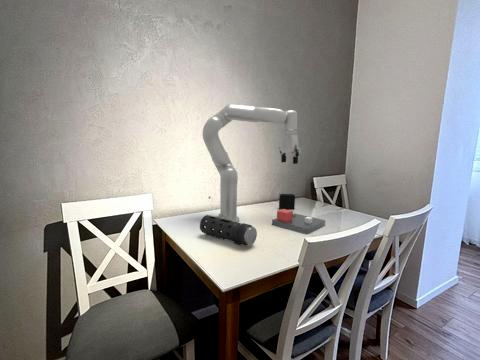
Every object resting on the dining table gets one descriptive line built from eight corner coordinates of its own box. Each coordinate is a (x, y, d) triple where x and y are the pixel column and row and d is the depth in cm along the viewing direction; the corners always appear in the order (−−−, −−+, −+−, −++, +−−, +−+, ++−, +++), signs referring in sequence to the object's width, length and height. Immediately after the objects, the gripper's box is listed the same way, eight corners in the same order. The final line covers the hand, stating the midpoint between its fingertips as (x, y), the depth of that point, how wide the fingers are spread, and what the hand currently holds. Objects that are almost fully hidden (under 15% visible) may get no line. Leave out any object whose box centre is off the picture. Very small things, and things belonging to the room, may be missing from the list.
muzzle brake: (212, 232, 150) (212, 212, 148) (257, 245, 134) (258, 223, 132) (199, 237, 143) (199, 216, 141) (245, 251, 126) (245, 228, 124)
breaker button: (309, 226, 156) (309, 218, 156) (304, 224, 158) (304, 217, 158) (312, 224, 159) (312, 217, 158) (307, 223, 161) (307, 216, 160)
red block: (286, 222, 158) (286, 213, 157) (276, 219, 162) (277, 210, 161) (292, 219, 163) (292, 210, 162) (283, 217, 167) (283, 208, 166)
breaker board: (307, 234, 148) (307, 226, 147) (271, 224, 163) (272, 217, 162) (325, 225, 163) (325, 218, 162) (291, 217, 177) (291, 210, 177)
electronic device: (294, 209, 195) (295, 195, 193) (279, 209, 195) (280, 195, 193) (293, 208, 199) (294, 193, 197) (278, 207, 199) (279, 193, 197)
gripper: (274, 132, 170) (274, 162, 173) (296, 133, 156) (295, 164, 159) (284, 132, 175) (284, 161, 177) (305, 132, 160) (305, 163, 163)
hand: (289, 162), depth 168 cm, fingers open, 9 cm apart
